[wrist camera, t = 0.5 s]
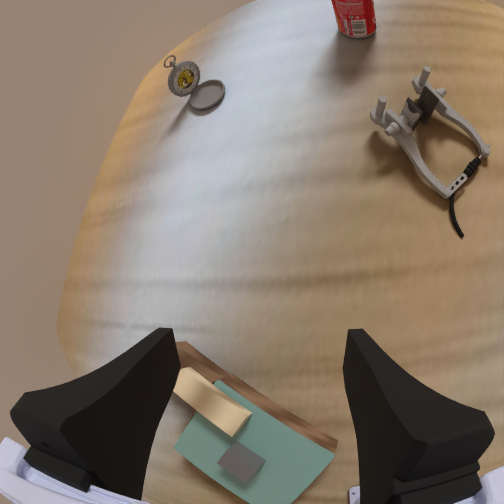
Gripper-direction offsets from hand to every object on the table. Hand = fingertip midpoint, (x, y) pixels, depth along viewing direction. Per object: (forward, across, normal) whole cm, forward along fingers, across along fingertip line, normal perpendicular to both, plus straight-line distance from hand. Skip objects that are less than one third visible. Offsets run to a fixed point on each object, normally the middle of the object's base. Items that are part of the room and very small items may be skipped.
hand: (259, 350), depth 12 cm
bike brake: (+29, -23, -7) cm, 38 cm away
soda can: (+45, -16, -30) cm, 56 cm away
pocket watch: (+45, +12, -18) cm, 49 cm away
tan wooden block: (+14, +7, +18) cm, 24 cm away
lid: (+10, +3, +25) cm, 27 cm away
